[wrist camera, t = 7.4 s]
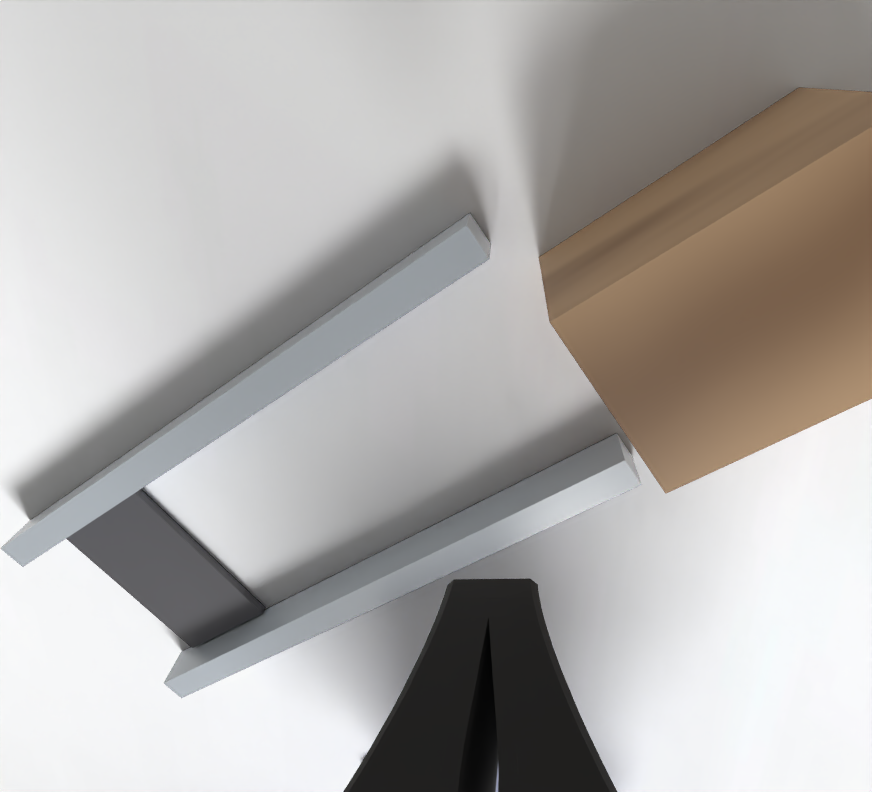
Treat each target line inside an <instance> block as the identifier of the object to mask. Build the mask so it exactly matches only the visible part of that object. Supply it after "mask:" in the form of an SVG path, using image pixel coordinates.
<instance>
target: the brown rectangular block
mask: <svg viewBox="0 0 872 792" xmlns="http://www.w3.org/2000/svg"><path fill="white" fill-rule="evenodd" d="M539 262H540V268H541V274H542V279H543V285H544V291H545V297H546V303H547V309H548V315H549V321H550V323H551V325H552V326H553V328H554V329H555V331H556V332H557V334H558V335H559V337H560V338H561V340H562V341H563V343H564V344H565V346H566V347H567V348H568V350H569V351H570V353H571V354H572V356H573V357H574V359H575V360H576V362H577V363H578V365H579V366H580V368H581V369H582V371H583V372H584V374H585V375H586V377H587V378H588V379H589V381H590V382H591V384H592V385H593V387H594V388H595V390H596V391H597V393H598V394H599V396H600V397H601V399H602V400H603V402H604V403H605V405H606V406H607V408H608V409H609V411H610V412H611V413H612V415H613V416H614V418H615V419H616V421H617V422H618V424H619V425H620V427H621V428H622V430H623V431H624V433H625V434H626V436H627V437H628V439H629V440H630V442H631V443H632V444H633V446H634V447H635V449H636V450H637V452H638V453H639V455H640V456H641V458H642V459H643V461H644V462H645V464H646V465H647V467H648V468H649V470H650V471H651V473H652V474H653V476H654V477H655V478H656V480H657V481H658V483H659V484H660V486H661V487H662V489H663V490H664V492H665V493H668V492H670V491H673V490H675V489H677V488H679V487H681V486H683V485H686V484H688V483H690V482H692V481H694V480H696V479H699V478H701V477H703V476H705V475H707V474H709V473H712V472H714V471H716V470H718V469H720V468H722V467H725V466H727V465H729V464H731V463H733V462H735V461H738V460H740V459H742V458H744V457H746V456H748V455H751V454H753V453H755V452H757V451H759V450H761V449H764V448H766V447H768V446H770V445H772V444H774V443H777V442H779V441H781V440H783V439H785V438H787V437H790V436H792V435H794V434H796V433H798V432H800V431H803V430H805V429H807V428H809V427H811V426H813V425H816V424H818V423H820V422H822V421H824V420H826V419H829V418H831V417H833V416H835V415H837V414H839V413H842V412H844V411H846V410H848V409H850V408H852V407H855V406H857V405H859V404H861V403H863V402H865V401H868V400H870V399H872V92H863V91H848V90H832V89H816V88H800V87H799V88H797V89H796V90H794V91H793V92H791V93H790V94H788V95H787V96H785V97H784V98H782V99H780V100H779V101H777V102H776V103H774V104H773V105H771V106H770V107H768V108H767V109H765V110H764V111H762V112H761V113H759V114H758V115H756V116H754V117H753V118H751V119H750V120H748V121H747V122H745V123H744V124H742V125H741V126H739V127H738V128H736V129H735V130H733V131H731V132H730V133H728V134H727V135H725V136H724V137H722V138H721V139H719V140H718V141H716V142H715V143H713V144H712V145H710V146H709V147H707V148H705V149H704V150H702V151H701V152H699V153H698V154H696V155H695V156H693V157H692V158H690V159H689V160H687V161H686V162H684V163H682V164H681V165H679V166H678V167H676V168H675V169H673V170H672V171H670V172H669V173H667V174H666V175H664V176H663V177H661V178H659V179H658V180H656V181H655V182H653V183H652V184H650V185H649V186H647V187H646V188H644V189H643V190H641V191H640V192H638V193H637V194H635V195H633V196H632V197H630V198H629V199H627V200H626V201H624V202H623V203H621V204H620V205H618V206H617V207H615V208H614V209H612V210H610V211H609V212H607V213H606V214H604V215H603V216H601V217H600V218H598V219H597V220H595V221H594V222H592V223H591V224H589V225H588V226H586V227H584V228H583V229H581V230H580V231H578V232H577V233H575V234H574V235H572V236H571V237H569V238H568V239H566V240H565V241H563V242H561V243H560V244H558V245H557V246H555V247H554V248H552V249H551V250H549V251H548V252H546V253H545V254H543V255H542V256H540V257H539Z"/></svg>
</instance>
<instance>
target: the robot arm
mask: <svg viewBox="0 0 872 792" xmlns="http://www.w3.org/2000/svg"><path fill="white" fill-rule="evenodd" d="M344 792H617V790H616V789H615V787H614V785H613V783H612V781H611V779H610V777H609V775H608V773H607V771H606V769H605V767H604V765H603V763H602V761H601V759H600V757H599V754H598V752H597V750H596V748H595V746H594V744H593V742H592V740H591V738H590V736H589V734H588V732H587V729H586V727H585V725H584V723H583V720H582V718H581V716H580V714H579V712H578V709H577V707H576V704H575V702H574V700H573V697H572V695H571V692H570V690H569V688H568V685H567V683H566V680H565V678H564V675H563V673H562V671H561V668H560V665H559V663H558V660H557V657H556V654H555V652H554V649H553V646H552V643H551V640H550V637H549V634H548V631H547V627H546V624H545V620H544V617H543V613H542V609H541V604H540V599H539V593H538V584H536V583H535V582H534V581H532V580H531V579H462V580H453V581H452V582H451V583H449V584H448V586H447V589H446V592H445V595H444V598H443V601H442V604H441V607H440V609H439V612H438V615H437V617H436V620H435V622H434V624H433V627H432V629H431V632H430V634H429V636H428V638H427V641H426V643H425V645H424V647H423V650H422V652H421V654H420V656H419V658H418V660H417V662H416V664H415V666H414V668H413V670H412V672H411V674H410V676H409V678H408V680H407V682H406V684H405V686H404V688H403V690H402V692H401V694H400V696H399V698H398V700H397V702H396V704H395V706H394V707H393V709H392V711H391V713H390V714H389V716H388V718H387V720H386V721H385V723H384V725H383V727H382V729H381V730H380V732H379V734H378V736H377V737H376V739H375V741H374V743H373V744H372V746H371V748H370V750H369V751H368V753H367V755H366V756H365V758H364V760H363V761H362V763H361V765H360V766H359V768H358V769H357V771H356V773H355V774H354V776H353V778H352V779H351V781H350V782H349V784H348V785H347V787H346V788H345V790H344Z"/></svg>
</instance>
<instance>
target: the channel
mask: <svg viewBox="0 0 872 792" xmlns="http://www.w3.org/2000/svg"><path fill="white" fill-rule="evenodd" d="M490 248H491V244H490V242H489V241H488V239H487V238H486V236H485V235H484V233H483V232H482V230H481V229H480V227H479V226H478V224H477V223H476V221H475V220H474V218H473V217H472V215H471V214H470V213H469V214H467V215H466V216H465V217H463V218H462V219H460V220H459V221H457V222H456V223H455V224H453V225H452V226H450V227H449V228H447V229H446V230H445V231H443V232H442V233H440V234H439V235H437V236H436V237H435V238H433V239H432V240H430V241H429V242H427V243H426V244H425V245H423V246H422V247H420V248H419V249H417V250H416V251H415V252H413V253H412V254H410V255H409V256H407V257H406V258H405V259H403V260H402V261H400V262H399V263H397V264H396V265H395V266H393V267H392V268H390V269H389V270H387V271H386V272H385V273H383V274H382V275H380V276H379V277H377V278H376V279H375V280H373V281H372V282H370V283H369V284H367V285H366V286H365V287H363V288H362V289H360V290H359V291H357V292H356V293H355V294H353V295H352V296H350V297H349V298H347V299H346V300H345V301H343V302H342V303H340V304H339V305H337V306H336V307H335V308H333V309H332V310H330V311H329V312H327V313H326V314H325V315H323V316H322V317H320V318H319V319H317V320H316V321H315V322H313V323H312V324H310V325H309V326H307V327H306V328H305V329H303V330H302V331H300V332H299V333H297V334H296V335H295V336H293V337H292V338H290V339H289V340H287V341H286V342H285V343H283V344H282V345H280V346H279V347H277V348H276V349H275V350H273V351H272V352H270V353H269V354H267V355H266V356H265V357H263V358H262V359H260V360H259V361H257V362H256V363H255V364H253V365H252V366H250V367H249V368H247V369H246V370H245V371H243V372H242V373H240V374H239V375H237V376H236V377H235V378H233V379H232V380H230V381H229V382H227V383H226V384H225V385H223V386H222V387H220V388H219V389H217V390H216V391H215V392H213V393H212V394H210V395H209V396H207V397H206V398H205V399H203V400H202V401H200V402H199V403H197V404H196V405H195V406H193V407H192V408H190V409H189V410H187V411H186V412H185V413H183V414H182V415H180V416H179V417H177V418H176V419H175V420H173V421H172V422H170V423H169V424H167V425H166V426H165V427H163V428H162V429H160V430H159V431H157V432H156V433H155V434H153V435H152V436H150V437H149V438H147V439H146V440H145V441H143V442H142V443H140V444H139V445H137V446H136V447H135V448H133V449H132V450H130V451H129V452H127V453H126V454H125V455H123V456H122V457H120V458H119V459H117V460H116V461H115V462H113V463H112V464H110V465H109V466H107V467H106V468H105V469H103V470H102V471H100V472H99V473H97V474H96V475H95V476H93V477H92V478H90V479H89V480H87V481H86V482H85V483H83V484H82V485H80V486H79V487H77V488H76V489H75V490H73V491H72V492H70V493H69V494H67V495H66V496H65V497H63V498H62V499H60V500H59V501H57V502H56V503H55V504H53V505H52V506H50V507H49V508H47V509H46V510H45V511H43V512H42V513H40V514H39V515H37V516H36V517H35V518H33V519H32V520H30V521H29V522H28V523H27V524H26V525H25V526H24V527H23V528H22V529H20V530H19V531H18V532H17V533H16V534H15V535H14V536H13V537H12V538H11V539H10V540H9V541H8V542H7V543H6V544H5V545H3V546H2V547H1V549H2V550H3V551H4V552H5V553H7V554H8V555H9V556H10V557H11V558H13V559H14V560H15V561H16V562H17V563H19V564H20V565H21V566H22V567H24V566H25V565H27V564H28V563H30V562H31V561H33V560H34V559H36V558H37V557H39V556H40V555H42V554H43V553H45V552H46V551H48V550H49V549H51V548H52V547H54V546H55V545H57V544H58V543H60V542H61V541H63V540H64V539H67V540H68V541H70V542H71V543H72V544H73V545H74V546H75V547H76V548H78V549H79V550H80V551H81V552H82V553H83V554H85V555H86V556H87V557H88V558H89V559H90V560H91V561H93V562H94V563H95V564H96V565H97V566H98V567H99V568H101V569H102V570H103V571H104V572H105V573H106V574H108V575H109V576H110V577H111V578H112V579H113V580H114V581H116V582H117V583H118V584H119V585H120V586H121V587H122V588H124V589H125V590H126V591H127V592H128V593H129V594H131V595H132V596H133V597H134V598H135V599H136V600H137V601H139V602H140V603H141V604H142V605H143V606H144V607H145V608H147V609H148V610H149V611H150V612H151V613H152V614H154V615H155V616H156V617H157V618H158V619H159V620H160V621H162V622H163V623H164V624H165V625H166V626H167V627H168V628H170V629H171V630H172V631H173V632H174V633H175V634H177V635H178V636H179V637H180V638H181V639H182V640H183V641H185V642H186V643H187V644H188V645H189V646H190V648H188V649H186V650H184V651H182V652H181V653H180V655H179V657H178V659H177V660H176V662H175V664H174V666H173V667H172V669H171V671H170V673H169V675H168V676H167V678H166V680H165V682H164V684H165V685H166V686H168V687H169V688H170V689H171V690H172V691H174V692H175V693H176V694H177V695H178V696H180V697H181V698H183V697H185V696H187V695H189V694H192V693H194V692H196V691H198V690H200V689H202V688H205V687H207V686H209V685H211V684H213V683H215V682H218V681H220V680H222V679H224V678H226V677H228V676H230V675H233V674H235V673H237V672H239V671H241V670H243V669H246V668H248V667H250V666H252V665H254V664H256V663H258V662H261V661H263V660H265V659H267V658H269V657H271V656H274V655H276V654H278V653H280V652H282V651H284V650H287V649H289V648H291V647H293V646H295V645H297V644H299V643H302V642H304V641H306V640H308V639H310V638H312V637H315V636H317V635H319V634H321V633H323V632H325V631H328V630H330V629H332V628H334V627H336V626H338V625H340V624H343V623H345V622H347V621H349V620H351V619H353V618H356V617H358V616H360V615H362V614H364V613H366V612H368V611H371V610H373V609H375V608H377V607H379V606H381V605H384V604H386V603H388V602H390V601H392V600H394V599H397V598H399V597H401V596H403V595H405V594H407V593H409V592H412V591H414V590H416V589H418V588H420V587H422V586H425V585H427V584H429V583H431V582H433V581H435V580H438V579H440V578H442V577H444V576H446V575H448V574H450V573H453V572H455V571H457V570H459V569H461V568H463V567H466V566H468V565H470V564H472V563H474V562H476V561H479V560H481V559H483V558H485V557H487V556H489V555H491V554H494V553H496V552H498V551H500V550H502V549H504V548H507V547H509V546H511V545H513V544H515V543H517V542H519V541H522V540H524V539H526V538H528V537H530V536H532V535H535V534H537V533H539V532H541V531H543V530H545V529H548V528H550V527H552V526H554V525H556V524H558V523H560V522H563V521H565V520H567V519H569V518H571V517H573V516H576V515H578V514H580V513H582V512H584V511H586V510H589V509H591V508H593V507H595V506H597V505H599V504H601V503H604V502H606V501H608V500H610V499H612V498H614V497H617V496H619V495H621V494H623V493H625V492H627V491H629V490H632V489H634V488H636V487H638V486H640V485H641V482H640V478H639V475H638V472H637V469H636V466H635V463H634V460H633V457H632V455H631V454H630V452H629V451H628V449H627V448H626V446H625V445H624V443H623V442H622V440H621V439H620V437H619V436H618V434H617V433H616V434H614V435H612V436H610V437H608V438H606V439H604V440H602V441H600V442H598V443H596V444H594V445H592V446H590V447H588V448H586V449H584V450H582V451H580V452H578V453H576V454H574V455H572V456H570V457H568V458H566V459H564V460H562V461H560V462H558V463H556V464H554V465H552V466H550V467H548V468H546V469H545V470H543V471H541V472H539V473H537V474H535V475H533V476H531V477H529V478H527V479H525V480H523V481H521V482H519V483H517V484H515V485H513V486H511V487H509V488H507V489H505V490H503V491H501V492H499V493H497V494H495V495H493V496H491V497H489V498H487V499H485V500H483V501H481V502H479V503H477V504H475V505H473V506H471V507H469V508H467V509H465V510H463V511H461V512H459V513H457V514H455V515H453V516H451V517H449V518H447V519H445V520H443V521H441V522H439V523H437V524H435V525H433V526H431V527H429V528H427V529H425V530H423V531H421V532H419V533H417V534H415V535H413V536H411V537H409V538H407V539H405V540H403V541H401V542H399V543H397V544H395V545H393V546H391V547H389V548H387V549H385V550H383V551H381V552H379V553H377V554H375V555H373V556H371V557H369V558H367V559H365V560H363V561H361V562H359V563H357V564H355V565H353V566H351V567H349V568H347V569H345V570H343V571H341V572H339V573H337V574H335V575H333V576H331V577H329V578H327V579H326V580H324V581H322V582H320V583H318V584H316V585H314V586H312V587H310V588H308V589H306V590H304V591H302V592H300V593H298V594H296V595H294V596H292V597H290V598H288V599H286V600H284V601H282V602H280V603H278V604H276V605H274V606H272V607H270V608H268V609H266V610H264V609H265V607H264V606H263V605H262V604H261V603H260V602H259V601H258V600H257V599H256V598H255V597H254V596H253V595H252V594H251V593H249V592H248V591H247V590H246V589H245V588H244V587H243V586H242V585H241V584H240V583H239V582H238V581H237V580H236V579H235V578H234V577H233V576H232V575H231V574H229V573H228V572H227V571H226V570H225V569H224V568H223V567H222V566H221V565H220V564H219V563H218V562H217V561H216V560H215V559H214V558H213V557H212V556H211V555H210V554H208V553H207V552H206V551H205V550H204V549H203V548H202V547H201V546H200V545H199V544H198V543H197V542H196V541H195V540H194V539H193V538H192V537H191V536H190V535H189V534H187V533H186V532H185V531H184V530H183V529H182V528H181V527H180V526H179V525H178V524H177V523H176V522H175V521H174V520H173V519H172V518H171V517H170V516H169V515H167V514H166V513H165V512H164V511H163V510H162V509H161V508H160V507H159V506H158V505H157V504H156V503H155V502H154V501H153V500H152V499H151V498H150V497H149V496H148V495H146V494H145V493H144V492H143V491H142V490H141V489H142V488H143V487H145V486H146V485H148V484H149V483H151V482H152V481H154V480H155V479H157V478H158V477H160V476H161V475H163V474H164V473H166V472H167V471H169V470H170V469H172V468H174V467H175V466H177V465H178V464H180V463H181V462H183V461H184V460H186V459H187V458H189V457H190V456H192V455H193V454H195V453H196V452H198V451H199V450H201V449H202V448H204V447H205V446H207V445H208V444H210V443H211V442H213V441H214V440H216V439H217V438H219V437H220V436H222V435H224V434H225V433H227V432H228V431H230V430H231V429H233V428H234V427H236V426H237V425H239V424H240V423H242V422H243V421H245V420H246V419H248V418H249V417H251V416H252V415H254V414H255V413H257V412H258V411H260V410H261V409H263V408H264V407H266V406H267V405H269V404H270V403H272V402H273V401H275V400H277V399H278V398H280V397H281V396H283V395H284V394H286V393H287V392H289V391H290V390H292V389H293V388H295V387H296V386H298V385H299V384H301V383H302V382H304V381H305V380H307V379H308V378H310V377H311V376H313V375H314V374H316V373H317V372H319V371H320V370H322V369H323V368H325V367H326V366H328V365H330V364H331V363H333V362H334V361H336V360H337V359H339V358H340V357H342V356H343V355H345V354H346V353H348V352H349V351H351V350H352V349H354V348H355V347H357V346H358V345H360V344H361V343H363V342H364V341H366V340H367V339H369V338H370V337H372V336H373V335H375V334H376V333H378V332H380V331H381V330H383V329H384V328H386V327H387V326H389V325H390V324H392V323H393V322H395V321H396V320H398V319H399V318H401V317H402V316H404V315H405V314H407V313H408V312H410V311H411V310H413V309H414V308H416V307H417V306H419V305H420V304H422V303H423V302H425V301H426V300H428V299H429V298H431V297H433V296H434V295H436V294H437V293H439V292H440V291H442V290H443V289H445V288H446V287H448V286H449V285H451V284H452V283H454V282H455V281H457V280H458V279H460V278H461V277H463V276H464V275H466V274H467V273H469V272H470V271H472V270H473V269H475V268H476V267H478V266H479V265H481V264H482V263H484V262H486V261H487V260H489V257H490Z"/></svg>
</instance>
